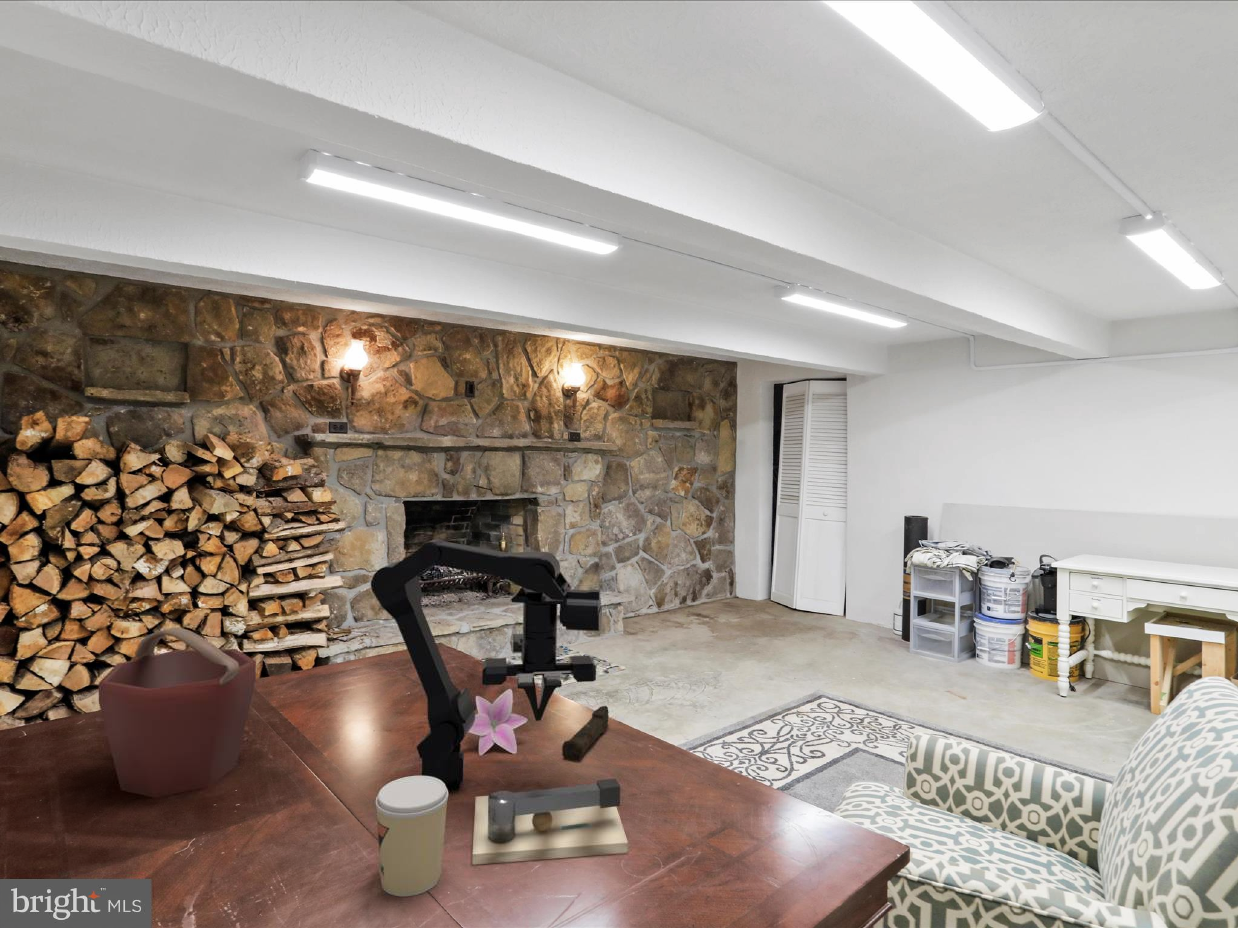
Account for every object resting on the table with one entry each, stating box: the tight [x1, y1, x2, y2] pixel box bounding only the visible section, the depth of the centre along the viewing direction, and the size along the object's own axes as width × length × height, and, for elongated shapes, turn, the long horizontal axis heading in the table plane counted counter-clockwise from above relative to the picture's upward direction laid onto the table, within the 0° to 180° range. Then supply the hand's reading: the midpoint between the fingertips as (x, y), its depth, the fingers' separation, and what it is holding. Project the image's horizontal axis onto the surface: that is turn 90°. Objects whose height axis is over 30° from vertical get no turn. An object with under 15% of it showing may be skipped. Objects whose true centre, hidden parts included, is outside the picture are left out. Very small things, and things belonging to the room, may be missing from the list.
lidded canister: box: [375, 775, 449, 897], centre depth 95 cm, size 9×9×12 cm
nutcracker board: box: [471, 795, 629, 866], centre depth 108 cm, size 22×16×4 cm
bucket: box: [98, 627, 257, 799], centre depth 122 cm, size 24×22×25 cm
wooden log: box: [561, 705, 610, 762], centre depth 140 cm, size 19×4×5 cm, turn 158°
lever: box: [488, 777, 621, 843], centre depth 105 cm, size 20×4×6 cm, turn 106°
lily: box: [468, 688, 528, 756], centre depth 137 cm, size 12×12×10 cm
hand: (538, 719), depth 120 cm, fingers closed
